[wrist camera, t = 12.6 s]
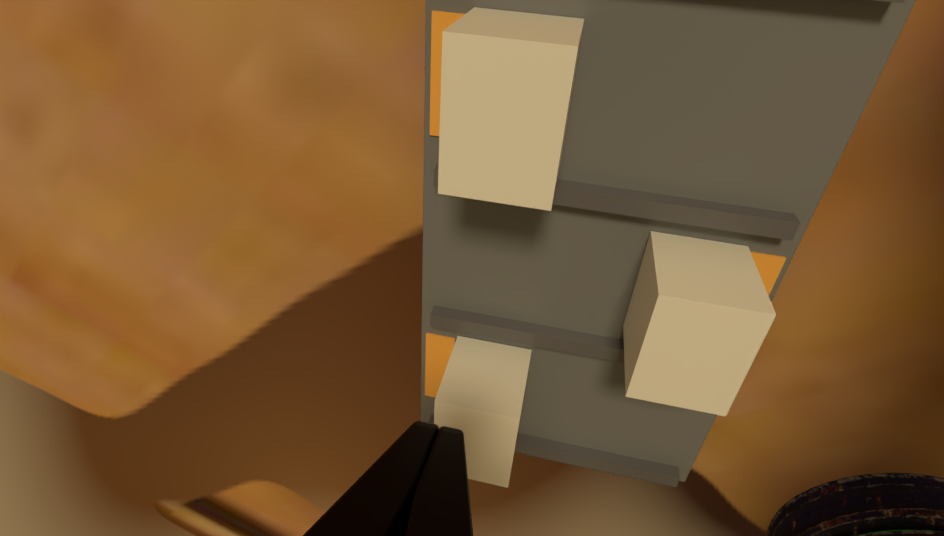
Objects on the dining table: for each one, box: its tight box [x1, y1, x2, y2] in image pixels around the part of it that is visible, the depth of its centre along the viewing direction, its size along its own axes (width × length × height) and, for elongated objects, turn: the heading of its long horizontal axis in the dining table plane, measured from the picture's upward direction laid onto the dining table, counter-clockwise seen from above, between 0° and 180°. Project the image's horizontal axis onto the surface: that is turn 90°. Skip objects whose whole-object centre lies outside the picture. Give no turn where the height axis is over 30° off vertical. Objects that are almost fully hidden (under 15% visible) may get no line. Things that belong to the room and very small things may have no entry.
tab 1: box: [438, 7, 584, 211], centre depth 14 cm, size 3×4×4 cm
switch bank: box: [421, 0, 916, 487], centre depth 19 cm, size 12×20×2 cm, turn 176°
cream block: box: [434, 336, 532, 488], centre depth 21 cm, size 3×4×4 cm
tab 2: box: [623, 231, 776, 416], centre depth 17 cm, size 3×4×4 cm
